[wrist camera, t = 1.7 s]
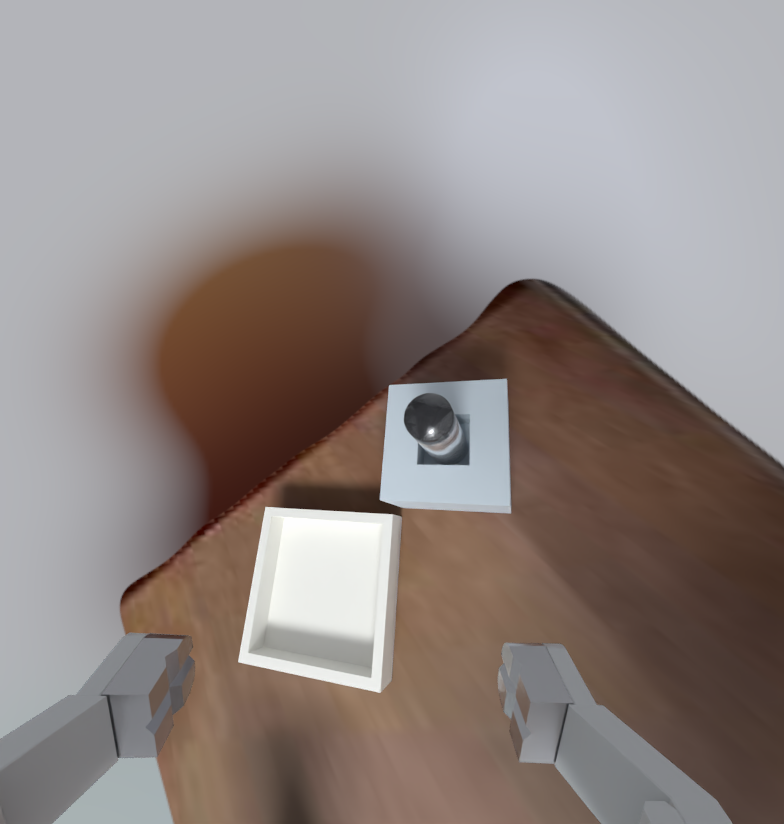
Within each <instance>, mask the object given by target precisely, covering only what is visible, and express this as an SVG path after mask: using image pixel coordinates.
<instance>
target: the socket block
mask: <svg viewBox="0 0 784 824" xmlns="http://www.w3.org/2000/svg"><path fill="white" fill-rule="evenodd" d="M426 393H435V394H438V395H441V396H442V397H444V398H445V399H446V400H447V401H448V402H449V403H450V405H451V407H452V409H453V411H454V413H455V416H456V418H457V420H458V422H459V424H460V426H461V429H462V431H463V433H464V435H465V437H466V439H467V442H468V451H467V454H466V456H465V457H464V459H463V460H462V461H461V462H459V463H458V464H456V465H441V464H439V463H437V462H436V461H435V460H434V459H433V458H432V457H431V456H430V455H429V454H428V453H427V452H426V450H425V449H424V448H423V447H422V446H421V445H420V444H419V443H418V442H417V441H416V440H415V439H414V438H413V437H412V436H411V435H410V433H409V432H408V431H407V429H406V427H405V424H404V413H405V410H406V408H407V406H408V404H409V403H410V402H411V401H412V400H413V399H414V398H416V397H417V396H419V395H422V394H426ZM380 500H381V501H384V502H387V503H390V504H393V505H396V506H399V507H402V508H416V509H435V510H454V511H474V512H493V513H511V479H510V444H509V409H508V390H507V379H493V380H474V381H456V382H438V383H420V384H402V385H389V393H388V405H387V417H386V430H385V442H384V454H383V466H382V478H381V490H380Z"/></svg>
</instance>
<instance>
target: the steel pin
mask: <svg viewBox="0 0 784 824" xmlns="http://www.w3.org/2000/svg"><path fill="white" fill-rule="evenodd" d="M404 424H405V427H406V429H407V431H408V432H409V433H410V435H411V436H412V437H413V438H414V439H415V440H416V441H417V442H418V443H419V444H420V445H421V446H422V447H423V448H424V449H425V450H426V452H427V453H428V454H429V455H430V456H431V457H432V458H433V459H434V460H435V461H436V462H437V463H439V464H441V465H456V464H458V463H459V462H461V461H462V460H463V459H464V457H465V456H466V454H467V451H468V442H467V439H466V437H465V435H464V433H463V431H462V429H461V426H460V424H459V422H458V420H457V418H456V416H455V413H454V411H453V409H452V407H451V405H450V403H449V402H448V401H447V400H446V399H445V398H444V397H442V396H441V395H438V394H435V393H426V394H422V395H419V396H417V397H416V398H414V399H413V400H412V401H411V402H410V403H409V404H408V406H407V408H406V410H405V413H404Z"/></svg>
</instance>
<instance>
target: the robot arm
mask: <svg viewBox="0 0 784 824" xmlns="http://www.w3.org/2000/svg"><path fill="white" fill-rule="evenodd" d="M192 648H193V643H192V637H191V636H188V635H171V634H152V633H149V634H145V633H128V634H127V635H125V636H124V637H123V638H122V639H121V640H120V641H119V642H118V643H117V645H116V646H115V647H114V648H113V650H112V651H111V652H110V654H109V655H108V656H107V657H106V658H105V659H104V661H103V662H102V663H101V665H100V666H99V667H98V668H97V669H96V671H95V672H94V673H93V674H92V675H91V677H90V678H89V679H88V681H87V682H86V683H85V684H84V686H83V687H82V688H81V689H80V690H79V692H78V693H77V694H76V695H68V696H67V697H65V698H64V699H62V700H61V701H59V702H58V703H56V704H54V705H53V706H51V707H50V708H48V709H46V710H45V711H43V712H42V713H40V714H39V715H37V716H36V717H34V718H32V719H31V720H29V721H28V722H26V723H25V724H23V725H21V726H20V727H18V728H17V729H15V730H14V731H12V732H10V733H9V734H7V735H6V736H4V737H3V738H1V739H0V824H52V823H53V822H54V821H55V820H56V819H57V818H59V816H60V815H62V814H63V813H64V812H65V811H66V810H67V809H68V808H69V807H70V806H71V805H72V804H73V803H74V802H75V801H76V800H77V799H78V798H79V797H81V796H82V795H83V794H84V793H85V792H86V791H87V790H88V789H89V788H90V787H91V786H92V785H93V784H94V783H95V782H96V781H97V780H98V779H99V778H100V777H101V776H102V775H104V773H106V772H107V771H108V770H109V769H110V768H111V767H112V766H113V765H114V764H115V763H116V762H117V761H118V758H145V757H158V755H159V753H160V751H161V749H162V747H163V745H164V743H165V741H166V739H167V738H168V736H169V734H170V732H171V730H172V728H173V726H174V724H173V714H174V713H176V712H177V711H178V710H179V709H180V708H182V707H183V706H184V704H185V702H186V700H187V698H188V696H189V694H190V691H191V688H192V685H193V681H194V676H195V661H194V660H193V659H192V658H191V657H190V656H189V654H190V652H191V650H192ZM501 655H502V658H503V661H504V664H503V665H502V666H501V667H500V668H499V673H498V691H499V696H500V701H501V705H502V708H503V712H504V713H505V714H506V715H507V716H508V717H509V718H510V719H511V724H510V730H509V731H510V735H511V738H512V741H513V744H514V747H515V751H516V754H517V757H518V760H519V762H529V763H550V764H555V767H556V768H557V769H558V771H559V772H560V773H561V774H562V776H563V777H564V778H565V779H566V781H567V782H568V783H569V784H570V786H571V787H572V788H573V789H574V791H575V792H576V793H577V794H578V796H579V797H580V798H581V799H582V801H583V802H584V803H585V804H586V806H587V807H588V808H589V809H590V811H591V812H592V813H593V814H594V816H595V817H596V818H597V819H598V820H599V822H600V823H601V824H733V823H732V822H731V820H730V819H729V817H728V816H727V815H726V813H725V812H724V810H723V809H722V807H721V806H720V804H719V803H718V801H717V800H716V799H715V798H713V797H712V796H711V795H710V794H709V793H707V792H706V791H705V790H704V789H703V788H701V787H700V786H699V785H698V784H697V783H695V782H694V781H693V780H692V779H691V778H690V777H688V776H687V775H686V774H685V773H684V772H682V771H681V770H680V769H679V768H678V767H676V766H675V765H674V764H673V763H672V762H670V761H669V760H668V759H667V758H666V757H664V756H663V755H662V754H661V753H660V752H658V751H657V750H656V749H655V748H654V747H652V746H651V745H650V744H649V743H648V742H646V741H645V740H644V739H643V738H642V737H640V736H639V735H638V734H637V733H636V732H634V731H633V730H632V729H631V728H630V727H628V726H627V725H626V724H625V723H624V722H622V721H621V720H620V719H619V718H618V717H616V716H615V715H614V714H613V713H612V712H610V711H609V710H608V709H607V708H606V707H604V706H603V705H597V704H596V702H595V700H594V699H593V697H592V695H591V693H590V691H589V690H588V688H587V686H586V684H585V682H584V681H583V679H582V677H581V675H580V673H579V672H578V670H577V668H576V666H575V664H574V663H573V661H572V659H571V657H570V655H569V654H568V652H567V650H566V648H565V647H564V646H563V645H562V644H548V643H542V644H540V643H505V644H504V645H503V647H502V653H501Z"/></svg>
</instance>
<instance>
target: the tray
mask: <svg viewBox="0 0 784 824" xmlns="http://www.w3.org/2000/svg"><path fill="white" fill-rule="evenodd" d="M401 524H402V517H401V516H397V515H393V514H377V513H360V512H343V511H325V510H308V509H291V508H273V507H266V508H265V513H264V519H263V525H262V530H261V536H260V542H259V547H258V553H257V559H256V564H255V570H254V575H253V581H252V587H251V592H250V598H249V604H248V609H247V615H246V621H245V626H244V632H243V638H242V643H241V649H240V655H239V660H238V662H240V663H244V664H249V665H254V666H258V667H263V668H268V669H272V670H277V671H282V672H286V673H291V674H295V675H300V676H305V677H309V678H314V679H319V680H323V681H328V682H333V683H337V684H342V685H347V686H351V687H356V688H360V689H365V690H370V691H374V692H379V693H381V692H382V691H383V689H384V688H385V687H386V686H387V685H388V684H389V683H390V682H391V681H392V668H393V652H394V636H395V620H396V604H397V588H398V572H399V556H400V540H401Z"/></svg>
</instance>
